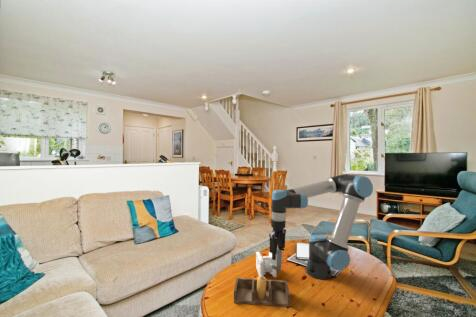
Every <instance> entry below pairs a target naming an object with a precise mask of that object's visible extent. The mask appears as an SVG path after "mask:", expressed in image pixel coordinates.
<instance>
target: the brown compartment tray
mask: <svg viewBox="0 0 476 317" xmlns="http://www.w3.org/2000/svg"><path fill="white" fill-rule="evenodd" d="M233 303H235V304H236V303H237V304H247V305H249V304H250V305H261V306H262V305H263V306H275V307H289V308H290V307H291V293H290V289H289V283H288V281H287V280H276V279H266V298H265V299H259V298H257V278H246V277H245V278H244V277H236V278H235V283H234V289H233Z"/></svg>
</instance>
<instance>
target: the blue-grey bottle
mask: <svg viewBox="0 0 476 317" xmlns="http://www.w3.org/2000/svg"><path fill="white" fill-rule="evenodd" d="M281 257H282V258H283V250H282V251H281V250H279V248H278V247H277V266H274V265H272V268H273V269H274V270H277V271H280V270H281V269H282V263H281Z"/></svg>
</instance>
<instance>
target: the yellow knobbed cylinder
mask: <svg viewBox="0 0 476 317" xmlns="http://www.w3.org/2000/svg"><path fill="white" fill-rule="evenodd" d="M256 279H257V298H259V299H265V298H266V280H267V278H266V277H265V276H264V275H263V276H262V275H261V276H259V275H258V276H257V278H256Z"/></svg>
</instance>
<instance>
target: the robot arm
mask: <svg viewBox="0 0 476 317" xmlns="http://www.w3.org/2000/svg"><path fill="white" fill-rule="evenodd" d="M373 191H374V185H373V183H372V181H371V179H370V178H369V177H367V176H364V175H360V174H348V173H344V174H343V173H342V174H338V175H334V176H332V177H328V178H326V180H322V181H317V182H315V183H309V184H307V185H303V186H299V187H298V186H297V187H295V188H289V189H287V190H286V189H274V190H273V191H272V193H271V216H270V217H271V218H270V226H271V228H272V231H271V232H272V233H269V234H268V236H269V251H268V253H269V252H270V253H272V265H274V266H277V248H279V250H281V251H282V252H283V251H285V248H286V234H287V229H285V228H286V223H287V222H286V220H287V209H305V208H307V207H308V204H309V198H313V197H316V196H320V195H324V194H327V193H328V194H329V193H331V194H334V193H342V194H341V195H342V197H343V200H342V202H341V206H340V209H339V211H338V215H337V218H336V220H335V222H334V227H333V230H332V233H331V236H330V237H329V236H328V235H324V234H311V235H310V236H309V239H308V259H307V260H308V261H307V262H306V266H305V272H306V274H307V275H308V276H310V277H312V278H315V279H318V280H328V279H330V278H332V276H333V275H332V274H333V273H332V269H333V270H335V271H343V270H344V269H346V268H347V267H348V266H349V264H350V262H351V257H350V254H349V253H348V252H349V248H350V247H349V246H348V242H349V239H350V235H351V231H352V229H353V226H354V223H355V220H356V217H357V214H358V211H359V207H360V205H361V203H364V202H365V200H366V198H369V197H370V196H371V195H372V194H373ZM282 263H283V256H282V257H281V264H282Z"/></svg>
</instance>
